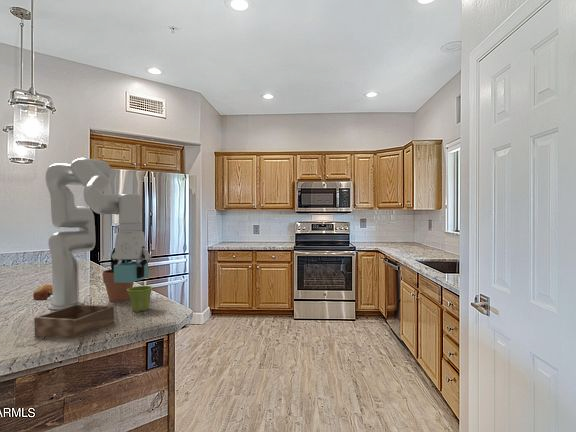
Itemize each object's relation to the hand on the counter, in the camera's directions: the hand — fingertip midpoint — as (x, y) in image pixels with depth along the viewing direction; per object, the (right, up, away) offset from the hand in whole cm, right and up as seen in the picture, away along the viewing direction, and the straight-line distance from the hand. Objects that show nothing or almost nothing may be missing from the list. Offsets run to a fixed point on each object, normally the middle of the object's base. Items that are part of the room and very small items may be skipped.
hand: (131, 276), depth 123 cm
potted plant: (-20, -16, +32) cm, 41 cm away
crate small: (0, -1, 0) cm, 1 cm away
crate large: (-15, -16, -9) cm, 24 cm away
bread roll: (-58, -17, +38) cm, 71 cm away
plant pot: (-3, -16, +13) cm, 21 cm away
